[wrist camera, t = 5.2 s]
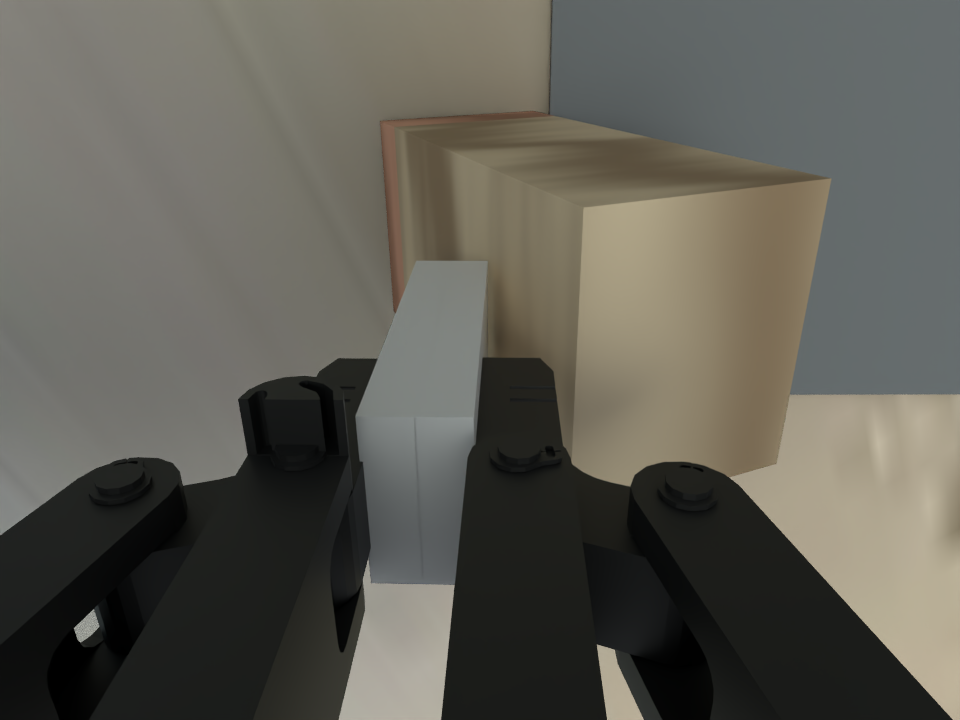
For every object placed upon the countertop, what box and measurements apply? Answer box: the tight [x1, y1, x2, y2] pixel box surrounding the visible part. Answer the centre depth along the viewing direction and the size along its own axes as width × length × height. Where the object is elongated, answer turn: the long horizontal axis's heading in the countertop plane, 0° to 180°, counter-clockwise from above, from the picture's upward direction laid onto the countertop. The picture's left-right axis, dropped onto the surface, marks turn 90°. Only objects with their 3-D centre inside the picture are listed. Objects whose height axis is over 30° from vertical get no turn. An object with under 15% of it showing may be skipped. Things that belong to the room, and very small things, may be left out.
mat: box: [549, 0, 960, 394], centre depth 23 cm, size 20×14×1 cm
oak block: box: [380, 111, 832, 486], centre depth 18 cm, size 5×6×12 cm
